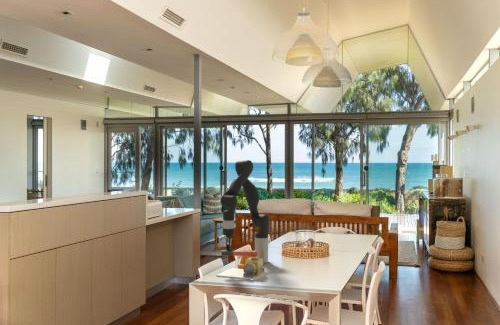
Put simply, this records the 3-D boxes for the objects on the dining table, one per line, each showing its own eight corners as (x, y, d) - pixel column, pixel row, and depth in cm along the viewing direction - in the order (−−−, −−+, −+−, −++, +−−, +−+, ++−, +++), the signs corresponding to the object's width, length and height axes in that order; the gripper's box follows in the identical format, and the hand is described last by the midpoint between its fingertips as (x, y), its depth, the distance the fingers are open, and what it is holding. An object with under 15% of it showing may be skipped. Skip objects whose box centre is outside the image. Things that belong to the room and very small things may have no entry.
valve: (254, 269, 322) (254, 252, 322) (266, 270, 319) (266, 253, 319) (241, 277, 302) (241, 258, 302) (253, 278, 299) (253, 259, 299)
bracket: (237, 268, 329) (237, 250, 329) (240, 266, 336) (240, 248, 336) (252, 269, 326) (252, 251, 326) (256, 267, 333) (256, 249, 332)
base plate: (231, 269, 327) (231, 268, 327) (268, 272, 317) (268, 271, 317) (216, 276, 307) (216, 275, 307) (256, 280, 297) (256, 278, 297)
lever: (257, 254, 313) (257, 250, 313) (257, 256, 308) (257, 251, 308) (221, 254, 313) (221, 250, 313) (221, 255, 308) (221, 251, 308)
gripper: (223, 225, 321) (222, 252, 321) (222, 228, 308) (221, 257, 308) (234, 225, 321) (234, 253, 321) (234, 228, 308) (233, 257, 308)
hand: (228, 254), depth 314 cm, fingers closed
